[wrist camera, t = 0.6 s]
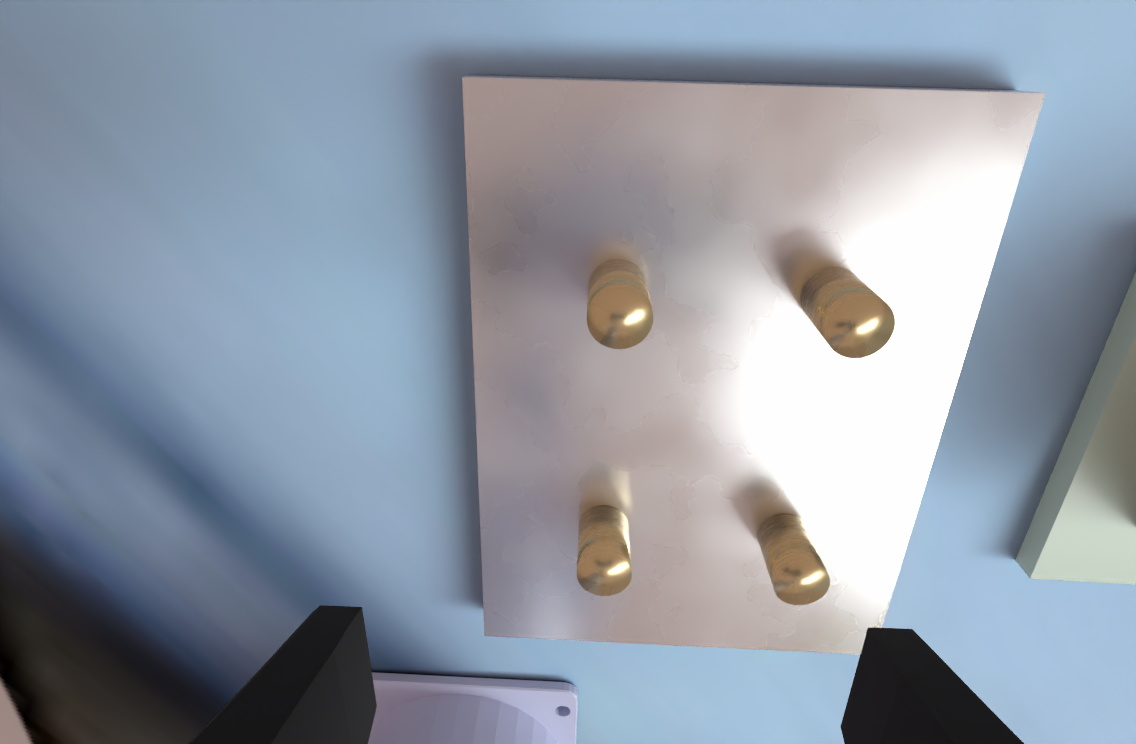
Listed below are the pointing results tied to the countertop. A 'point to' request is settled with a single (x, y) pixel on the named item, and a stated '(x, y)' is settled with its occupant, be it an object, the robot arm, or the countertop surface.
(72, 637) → the countertop surface
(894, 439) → the plate
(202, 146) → the countertop surface
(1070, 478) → the grey block on base
